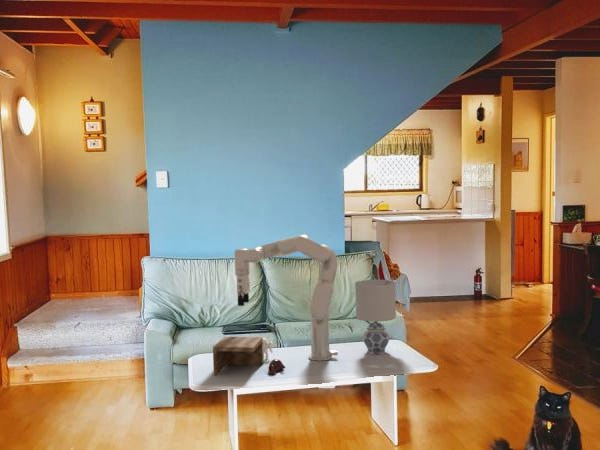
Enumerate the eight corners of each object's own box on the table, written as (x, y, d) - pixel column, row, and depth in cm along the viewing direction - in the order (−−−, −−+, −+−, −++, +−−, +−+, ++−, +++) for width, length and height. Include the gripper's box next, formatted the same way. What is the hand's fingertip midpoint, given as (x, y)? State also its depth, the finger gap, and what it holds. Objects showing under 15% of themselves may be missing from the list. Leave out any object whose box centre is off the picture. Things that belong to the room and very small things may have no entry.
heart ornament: (277, 372, 293) (290, 363, 288) (264, 383, 283) (277, 374, 278) (269, 361, 294) (283, 352, 288) (256, 371, 284) (269, 362, 278)
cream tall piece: (273, 357, 310) (272, 335, 309) (273, 359, 306) (273, 337, 305) (256, 358, 308) (255, 336, 308) (256, 360, 305) (255, 338, 304)
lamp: (394, 358, 303) (393, 286, 301) (353, 356, 308) (352, 285, 306) (398, 347, 324) (397, 280, 322) (359, 346, 329) (358, 279, 327)
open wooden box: (263, 364, 298) (262, 337, 297) (254, 376, 278) (253, 347, 278) (225, 363, 301) (224, 336, 300) (213, 375, 281) (212, 346, 281)
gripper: (245, 274, 299) (246, 307, 300) (253, 269, 316) (254, 300, 317) (230, 274, 300) (232, 307, 301) (239, 269, 317) (241, 300, 318)
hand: (243, 303), depth 309 cm, fingers open, 9 cm apart
